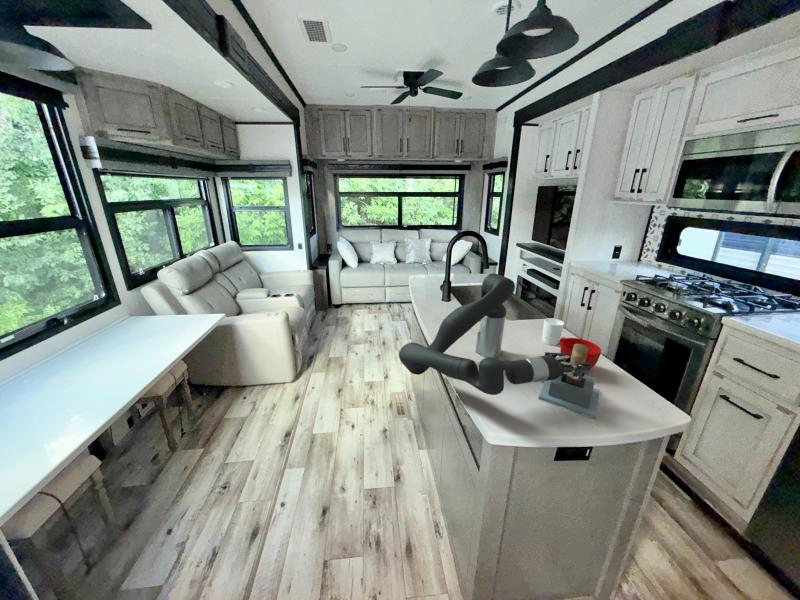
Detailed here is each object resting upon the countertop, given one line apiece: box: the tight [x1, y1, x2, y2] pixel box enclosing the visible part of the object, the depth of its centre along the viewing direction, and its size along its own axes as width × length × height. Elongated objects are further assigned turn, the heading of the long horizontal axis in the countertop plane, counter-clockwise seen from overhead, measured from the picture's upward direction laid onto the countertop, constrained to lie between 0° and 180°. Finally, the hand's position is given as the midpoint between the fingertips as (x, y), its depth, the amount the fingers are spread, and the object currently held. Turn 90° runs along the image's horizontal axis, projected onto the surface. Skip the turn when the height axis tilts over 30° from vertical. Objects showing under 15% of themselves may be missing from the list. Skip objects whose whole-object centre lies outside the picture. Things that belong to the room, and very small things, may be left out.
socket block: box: [538, 374, 601, 420], centre depth 101 cm, size 16×16×6 cm
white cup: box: [541, 317, 565, 346], centre depth 137 cm, size 8×8×10 cm
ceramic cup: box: [559, 337, 602, 373], centre depth 118 cm, size 13×17×10 cm
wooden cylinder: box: [565, 344, 588, 387], centre depth 98 cm, size 4×4×15 cm
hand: (584, 362), depth 99 cm, fingers closed on wooden cylinder, 4 cm apart
